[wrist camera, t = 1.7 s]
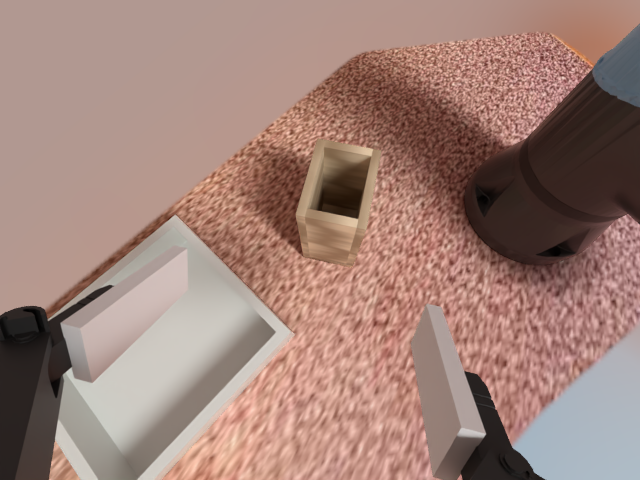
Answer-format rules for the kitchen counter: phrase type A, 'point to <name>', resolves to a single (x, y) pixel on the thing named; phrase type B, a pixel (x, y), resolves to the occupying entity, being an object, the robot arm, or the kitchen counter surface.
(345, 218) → the box
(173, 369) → the tray
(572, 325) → the kitchen counter surface
